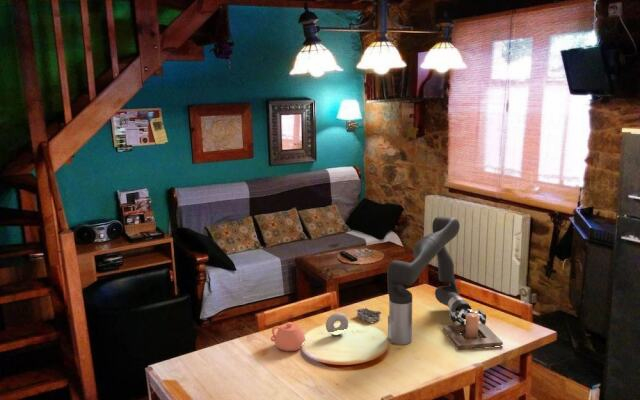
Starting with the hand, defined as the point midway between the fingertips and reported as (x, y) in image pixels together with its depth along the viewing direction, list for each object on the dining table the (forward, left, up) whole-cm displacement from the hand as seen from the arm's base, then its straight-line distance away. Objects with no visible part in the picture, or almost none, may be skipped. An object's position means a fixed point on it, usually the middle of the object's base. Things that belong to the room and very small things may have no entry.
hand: (474, 323), depth 211 cm
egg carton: (-38, +28, -8) cm, 48 cm away
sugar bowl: (-75, +6, -8) cm, 76 cm away
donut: (-54, +13, -8) cm, 56 cm away
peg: (0, +2, -8) cm, 8 cm away
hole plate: (0, +2, -8) cm, 8 cm away
